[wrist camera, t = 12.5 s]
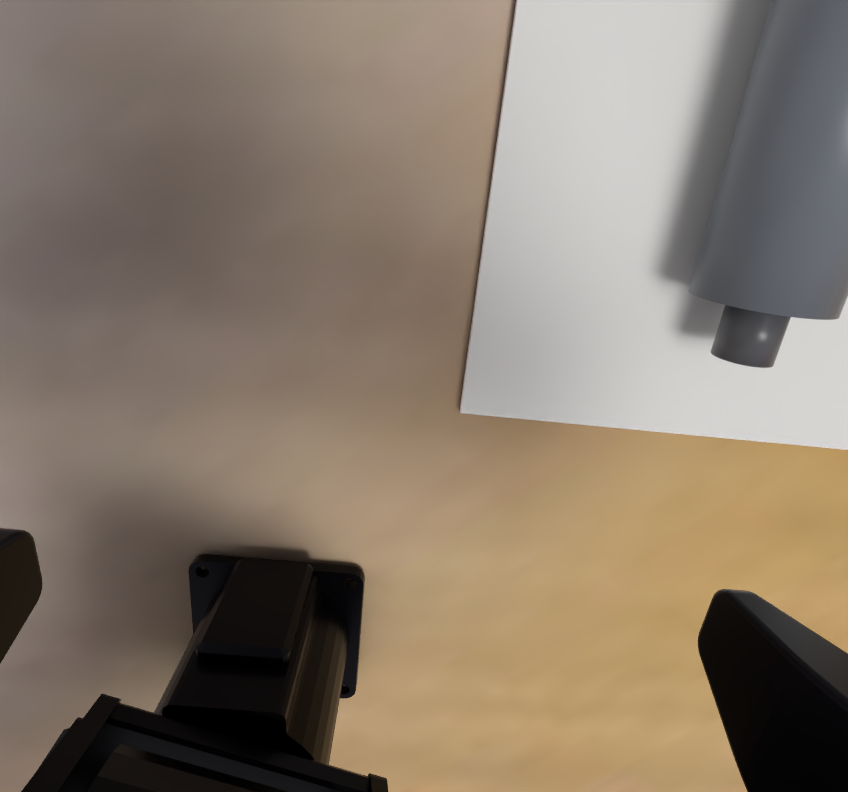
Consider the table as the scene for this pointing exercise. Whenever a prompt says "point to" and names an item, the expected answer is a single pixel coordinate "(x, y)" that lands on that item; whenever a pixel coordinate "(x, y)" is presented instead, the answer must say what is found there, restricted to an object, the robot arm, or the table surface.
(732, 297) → the marker
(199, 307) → the table surface
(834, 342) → the paper sheet
